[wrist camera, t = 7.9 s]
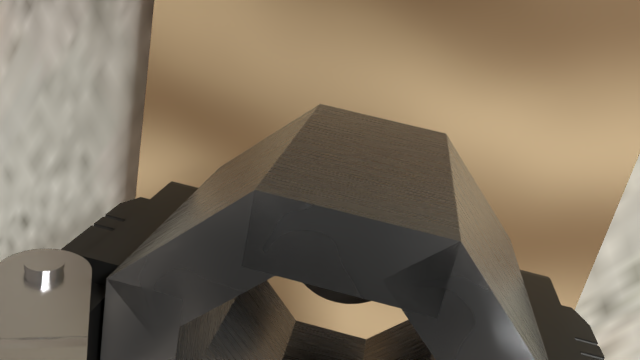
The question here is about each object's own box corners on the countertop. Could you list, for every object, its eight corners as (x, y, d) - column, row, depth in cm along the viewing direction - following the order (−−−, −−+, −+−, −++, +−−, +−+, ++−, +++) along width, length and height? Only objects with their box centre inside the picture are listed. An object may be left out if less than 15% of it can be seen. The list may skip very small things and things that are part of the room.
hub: (233, 83, 12) (116, 154, 8) (537, 154, 12) (613, 279, 7) (196, 333, 14) (88, 509, 10) (450, 404, 14) (464, 623, 9)
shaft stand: (187, -123, 17) (59, -172, 11) (685, -19, 16) (844, -10, 10) (143, 291, 22) (38, 413, 16) (519, 393, 21) (559, 565, 15)
